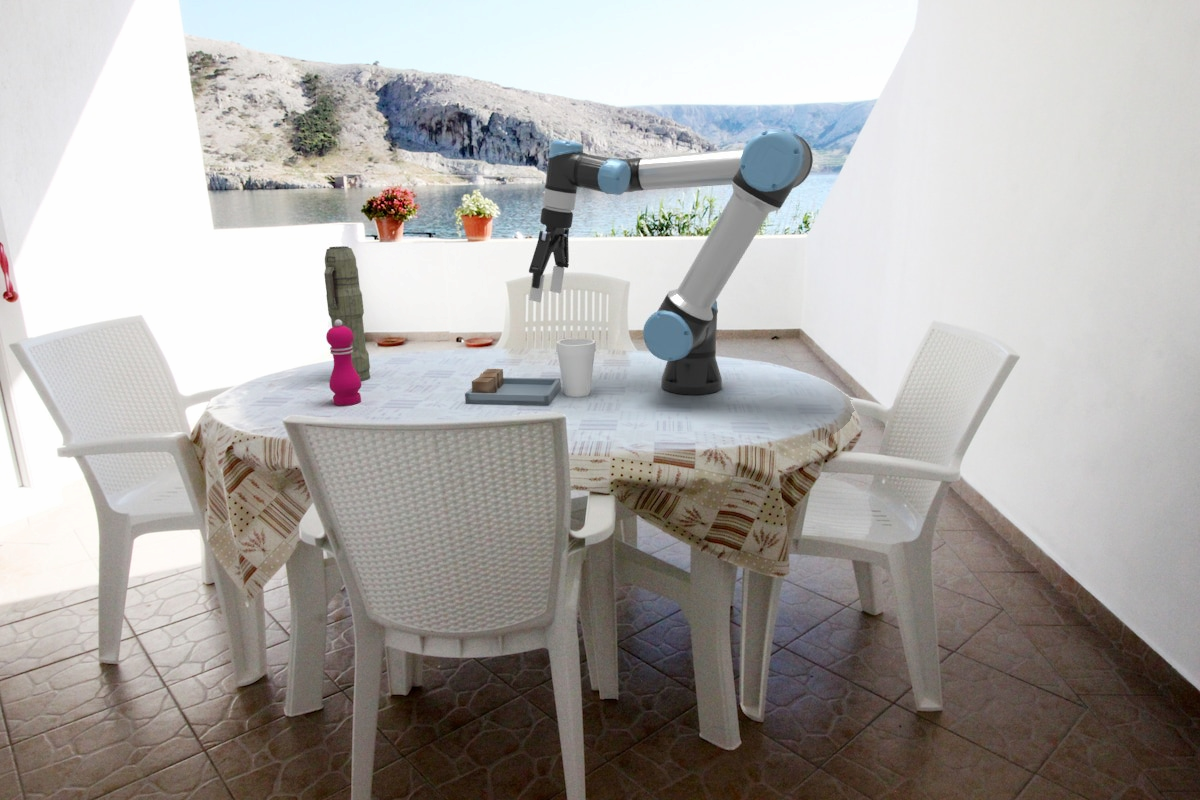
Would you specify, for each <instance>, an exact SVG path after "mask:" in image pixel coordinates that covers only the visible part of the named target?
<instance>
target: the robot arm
mask: <svg viewBox="0 0 1200 800" xmlns="http://www.w3.org/2000/svg"><path fill="white" fill-rule="evenodd" d="M813 159H814V156H813V152H812V149H811V146H810V145H809V143H808V142H807V141H806V140H805V139H804V138H803V137H802V136H799V135H797V134H794V133H793V132H790V131H787V130H785V129H783V128H782V129H781V128H771V129H767V130H763V131H761V132H759V133H757V134H756V135H754V136H753V137H752V138H751V139H750V140H749V141H748V142H747V144H746V145H745V146H744V148H737V149H725V150H716V151H713V150H712V151H702V152H693V153H680V154H671V155H670V154H667V155H659V156H647V157H633V158H614V157H605V156H600V155H593V154H588V153H586V152H584V146H583V144H582V143H581V142H577V141H571V140H565V139H558V138H557V139H554V140H552V142H551V144H550V149H549V154H548V157H547V161H548V163H547V169H546V177H545V178H546V179H545V185H544V190H543V191H542V196H543V199H542V205H543V206H544V207H542V209H541V212H540V213H541V214H540V220H539V222H540V224H542V225H544V226H545V230H539V234H538V240H537V244H536V246H535V249H534V252H533V256H532V259H531V262H530V266H529V269H528V273H530V274H532V275H531V276H532V278H531V285H530V293H529V301H532V302H535V303H536V302H537V303H541V302H542V296H543V290H544V289H543V288H544V284H545V283H544V282H545V274H544V272H545V271H546V267H547V266H548V263H549V260H550V258H551V256H552V254H553V258H554V265H553V267H552V273H551V275H552V276H551V281H550V289H549V292H553V293H557V294H561V293H562V288H563V282H564V280H563V279H564V274H565V268H567V269H568V268H569V266H570V265H569V262H570V261H569V260H570V259H569V257H570V256H569V235H570V228H571V227H572V225H573V218H574V214H573V212H572V211H574V210H575V204H576V200H577V191H578V188H583V189H588V190H592V191H596V192H601V193H604V194H607V195H616V196H620V195H622V194H624V193H633V192H639V191H652V190H666V189H667V190H668V189H680V188H681V189H685V188H697V187H698V188H699V187H701V188H702V187H713V186H728V185H729V186H732V190H733V191H732V194H731V196H730V198H729V200H728V202H727V204H726V205H725V206H724V209H723V210H722V212H721V213H720V215H719V217H718V219H717V221H716V222H715V224H714V226H713V227H712V229H711V231H710V232H709V234H708V236H707V238H706V239H705V242H704V243H703V245H702V247H701V248H700V250H699V252H698V253H697V255H696V257H695V258H694V261H693V262H692V263H691V266H690V267H689V268H688V269H689V270H688V271H687V272H686V274H685V276H684V278H683V280H682V281H681V283H680V285H679V286H678V287H677V289H672V290H669V291H667V294H666V295H665V297H664V299H663V301H662V303H661V304H660V305H659V308H658V309H657V311H655V312H654V313H652V314H651V315H650V316H649V317H648V318H647V320H646V321H645V323H644V325H643V329H642V330H643V331H642V333H643V334H642V335H643V336H642V338H643V341H644V343H645V347H646V348H647V350H648V351H649V352H650V353H651V354H652V355H653V356H654V357H655V358H658V359H659V360H661V361H664V362H665V361H666V363H665V368H664V370H663V372H662V376H661V388H662V390H665V391H666V392H669V393H674V394H679V395H691V396H692V395H709V394H712V393H716V392H719V391H721V389H722V386H723V385H722V383H723V382H722V381H723V379H722V375H721V372H720V369H719V365H718V362H717V358H716V357H717V356H716V354H717V353H716V352H717V351H716V350H717V331H718V330H717V327H718V326H717V325H718V312H719V311H718V301H717V299H718V297H719V296H720V294H721V292H722V291H723V289H724V288H725V286H726V284H727V282H728V281H729V279H730V277H731V276H732V274H733V272H734V271H735V270H736V268H737V267H738V264H739V263H740V261H741V260H742V258H743V256H744V255H745V253H746V252H747V250H748V248H749V247H750V245H751V243H752V242H753V240H754V238H755V236H756V235H757V233H758V232H759V230H760V228H761V227H762V225H763V224H764V222H765V220H766V219H767V217H768V215H769V214H770V213H772V212H775V211H778V210H780V209H781V208H782V206H783V205H784V203H785V201H786V200H787V198H788V196H789V195H790V193H791V192H792V190H793V189H795V188H797V187H799V186H800V185H801V184H802V183H804V182H805V180H806V179H808V177H809V175H810V173H811V171H812V168H813V163H814V160H813Z"/></svg>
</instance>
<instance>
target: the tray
mask: <svg viewBox="0 0 1200 800" xmlns="http://www.w3.org/2000/svg"><path fill="white" fill-rule="evenodd" d="M561 382H562V378H553V377H551V378H548V377H546V378H544V377H503V383H504V384H503V385H502V386H501V387H500V388H498V390H497V392H496V393H472V387H471V388H470V389H469V390H468V391H467V392H465V393H464V399H465V404H466V405H467V404H469V405H471V404H472V405H473V404H475V405H508V406H511V405H512V406H513V405H516V406H550V404H551V403H552V402H553V400H554V398H555V397H556V395H557V394H558V392H559V391H560V390H561V387H562V385H561Z"/></svg>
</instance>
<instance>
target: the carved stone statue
mask: <svg viewBox="0 0 1200 800" xmlns="http://www.w3.org/2000/svg"><path fill="white" fill-rule="evenodd" d="M324 264H325V270H324V274H323V275H324V281H325V282H324V283H325V289H326V290H325V291H326V296H325V297H326V302H327V303H326V304H327V313H328V316H329V317H330V320H331V328H332V327H335V324H334V322H335V321H336V320H338V319H339V320H341V321H342V326H345V327H348V328H349V329H350V330H351V331H352V333H353V336H354V339H353V342H352V343H351V346H352V350H353V352H352V353H351V360H352V364H353V367H354V368H355V370H356V372H357V373H358V375H359V377H360V380H361V382H364V381H367V380H369V379H370V378H371V375H370V373H371V372H370V369H371V365H370V364H371V363H370V356H369V352H368V350H367V346H366V339H365V338H366V337H365V330H364V329H365V327H364V320H363V316H364V313H365V312H364V310H365V309H364V301H363V294H362V291H361V288H360V280H359V279H360V278H359V270H358V267H357V258H356V256H355V254H354V251H353V249H352V248H351V247H349V246H343V245H342V246H329V248H327V249H326V250H325V256H324Z"/></svg>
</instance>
